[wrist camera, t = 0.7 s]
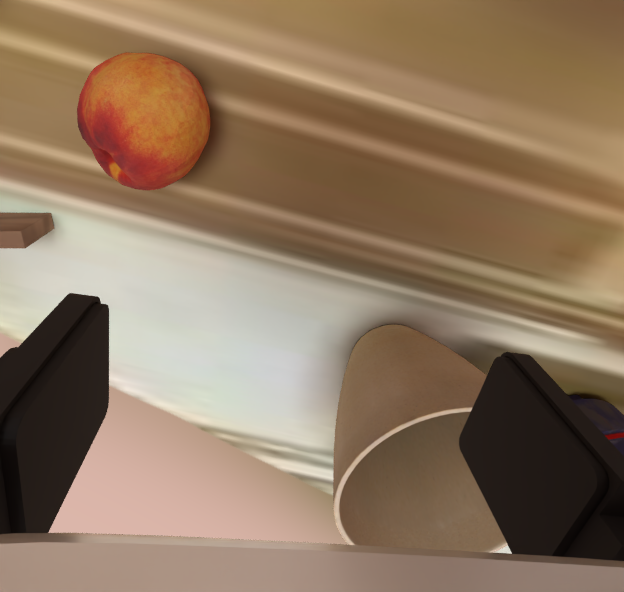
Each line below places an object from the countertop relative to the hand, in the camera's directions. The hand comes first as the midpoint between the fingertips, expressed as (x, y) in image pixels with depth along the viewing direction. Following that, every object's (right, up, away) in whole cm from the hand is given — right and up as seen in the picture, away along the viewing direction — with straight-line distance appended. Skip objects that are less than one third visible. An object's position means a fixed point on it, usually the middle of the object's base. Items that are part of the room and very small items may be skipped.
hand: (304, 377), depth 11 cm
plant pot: (+8, -4, +32) cm, 33 cm away
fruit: (-11, +15, +21) cm, 28 cm away
